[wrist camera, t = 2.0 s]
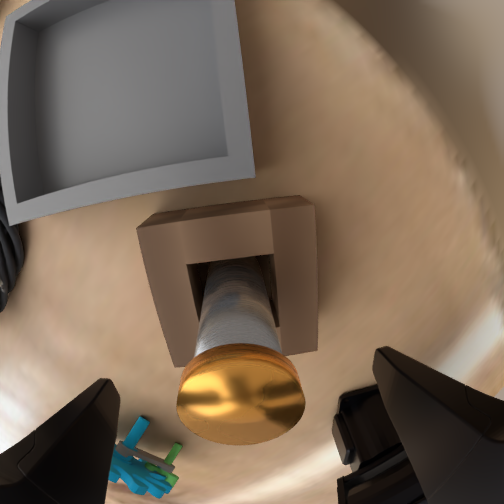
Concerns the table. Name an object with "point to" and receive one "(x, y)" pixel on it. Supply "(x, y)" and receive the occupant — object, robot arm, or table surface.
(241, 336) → the pin
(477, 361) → the table surface
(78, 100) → the tray
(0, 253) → the cable
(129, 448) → the gear
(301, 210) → the block
